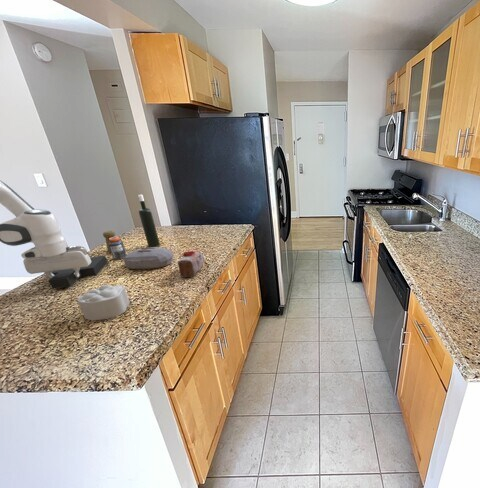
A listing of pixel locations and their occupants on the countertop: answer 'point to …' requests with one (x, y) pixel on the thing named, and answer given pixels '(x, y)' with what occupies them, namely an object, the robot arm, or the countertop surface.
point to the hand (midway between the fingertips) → (66, 278)
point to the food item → (190, 263)
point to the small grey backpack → (148, 258)
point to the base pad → (91, 267)
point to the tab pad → (63, 279)
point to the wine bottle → (148, 224)
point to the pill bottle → (117, 248)
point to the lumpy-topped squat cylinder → (104, 302)
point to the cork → (108, 235)
